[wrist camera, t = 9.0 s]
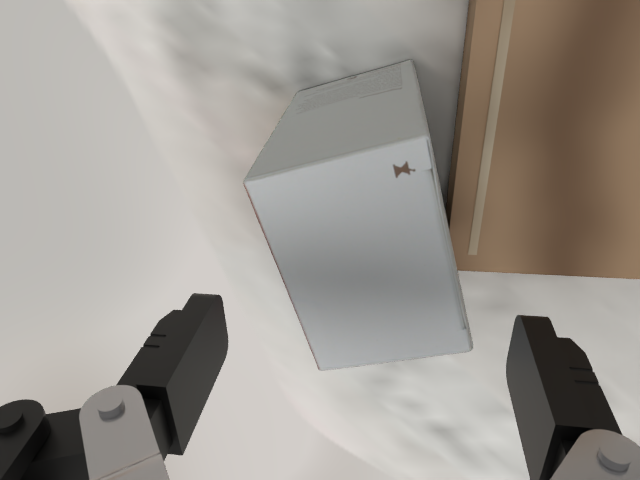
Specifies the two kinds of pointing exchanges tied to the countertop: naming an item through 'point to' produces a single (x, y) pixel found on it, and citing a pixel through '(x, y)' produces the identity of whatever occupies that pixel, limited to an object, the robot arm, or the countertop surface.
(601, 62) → the plank
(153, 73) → the countertop surface
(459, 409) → the countertop surface
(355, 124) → the small box
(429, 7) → the countertop surface
